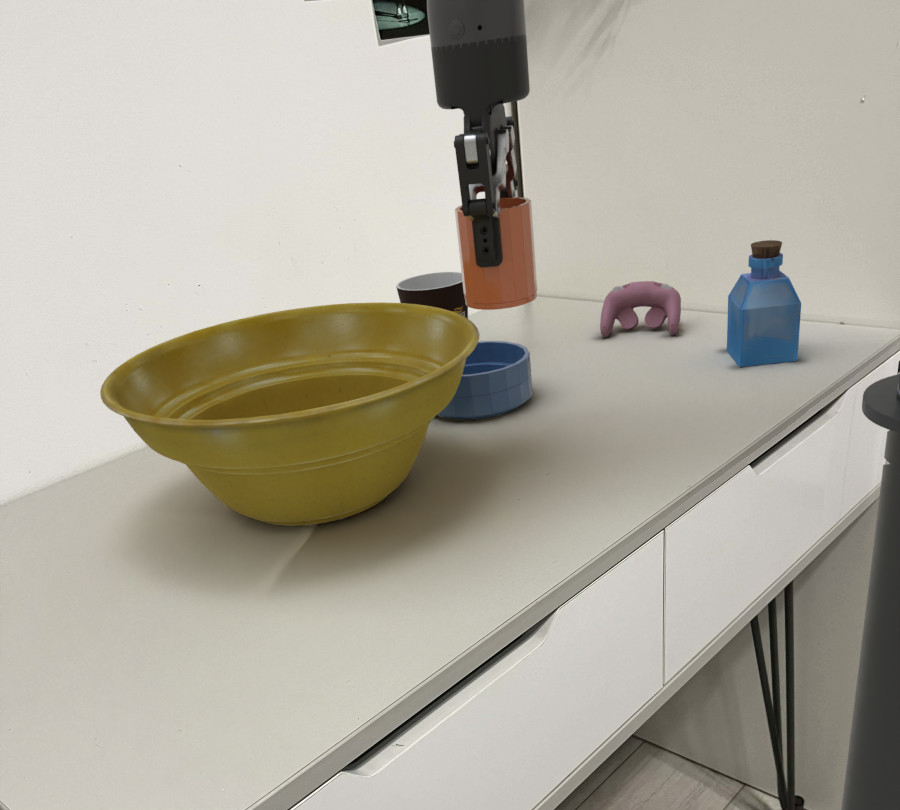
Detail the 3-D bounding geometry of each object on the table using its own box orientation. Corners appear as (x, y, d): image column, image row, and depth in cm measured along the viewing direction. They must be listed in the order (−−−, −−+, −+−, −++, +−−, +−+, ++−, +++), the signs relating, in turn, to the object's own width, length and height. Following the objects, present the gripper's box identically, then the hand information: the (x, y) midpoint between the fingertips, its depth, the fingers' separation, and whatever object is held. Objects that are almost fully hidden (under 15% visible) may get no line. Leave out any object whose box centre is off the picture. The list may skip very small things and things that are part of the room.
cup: (541, 288, 87) (535, 194, 83) (531, 307, 81) (524, 208, 77) (473, 293, 88) (463, 201, 84) (458, 311, 83) (448, 214, 79)
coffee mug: (466, 348, 123) (457, 268, 118) (485, 365, 115) (476, 281, 110) (378, 365, 121) (365, 285, 116) (392, 384, 114) (379, 299, 108)
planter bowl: (568, 472, 85) (559, 322, 78) (263, 626, 69) (217, 453, 62) (358, 408, 107) (336, 287, 101) (88, 512, 91) (41, 375, 84)
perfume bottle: (781, 344, 109) (788, 234, 103) (797, 360, 103) (805, 245, 97) (726, 350, 109) (729, 241, 103) (739, 367, 104) (743, 253, 98)
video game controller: (681, 340, 120) (684, 282, 119) (678, 333, 115) (681, 274, 115) (603, 342, 123) (605, 286, 122) (597, 336, 118) (599, 278, 118)
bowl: (540, 382, 108) (537, 338, 105) (522, 421, 98) (518, 373, 95) (438, 386, 111) (432, 343, 108) (411, 424, 101) (404, 378, 98)
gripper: (510, 32, 68) (527, 273, 76) (538, 27, 80) (550, 236, 88) (409, 46, 69) (437, 280, 78) (451, 39, 81) (471, 242, 90)
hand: (497, 256), depth 83 cm, fingers closed on cup, 6 cm apart
